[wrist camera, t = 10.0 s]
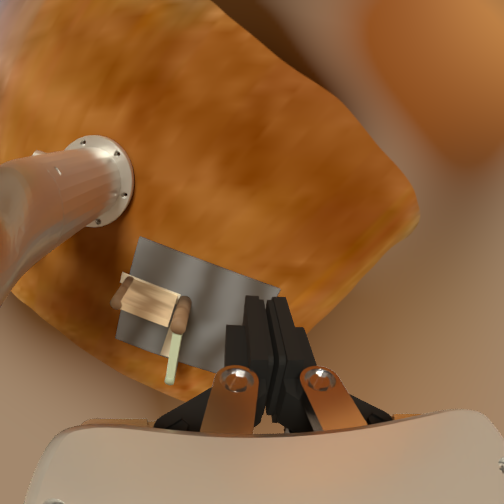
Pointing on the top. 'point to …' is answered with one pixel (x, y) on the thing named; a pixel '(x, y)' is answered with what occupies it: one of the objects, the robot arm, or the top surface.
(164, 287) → the base
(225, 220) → the top surface
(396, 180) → the top surface
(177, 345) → the bar
